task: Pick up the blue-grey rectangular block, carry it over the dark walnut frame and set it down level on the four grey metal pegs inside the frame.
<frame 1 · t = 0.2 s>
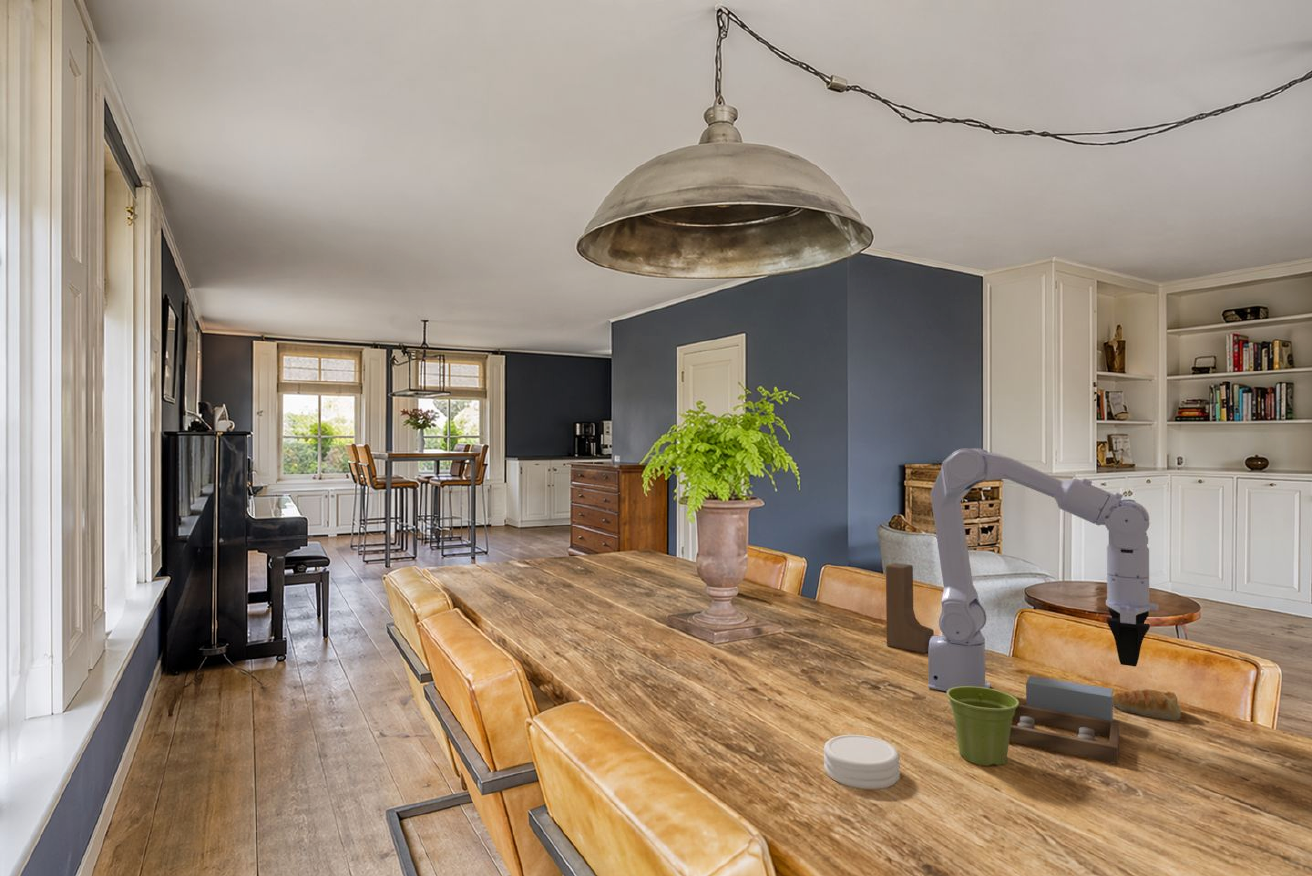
hand: (1128, 659, 114), 10 cm above the table, tool pointing down, fingers open, 7 cm apart
peg frame: (1055, 737, 107), on the table
pastry: (1149, 714, 117), on the table
coaster: (861, 775, 96), on the table
plant pot: (982, 759, 101), on the table
blue-grey rectangular block: (1069, 716, 116), on the table
wooden block: (910, 649, 155), on the table
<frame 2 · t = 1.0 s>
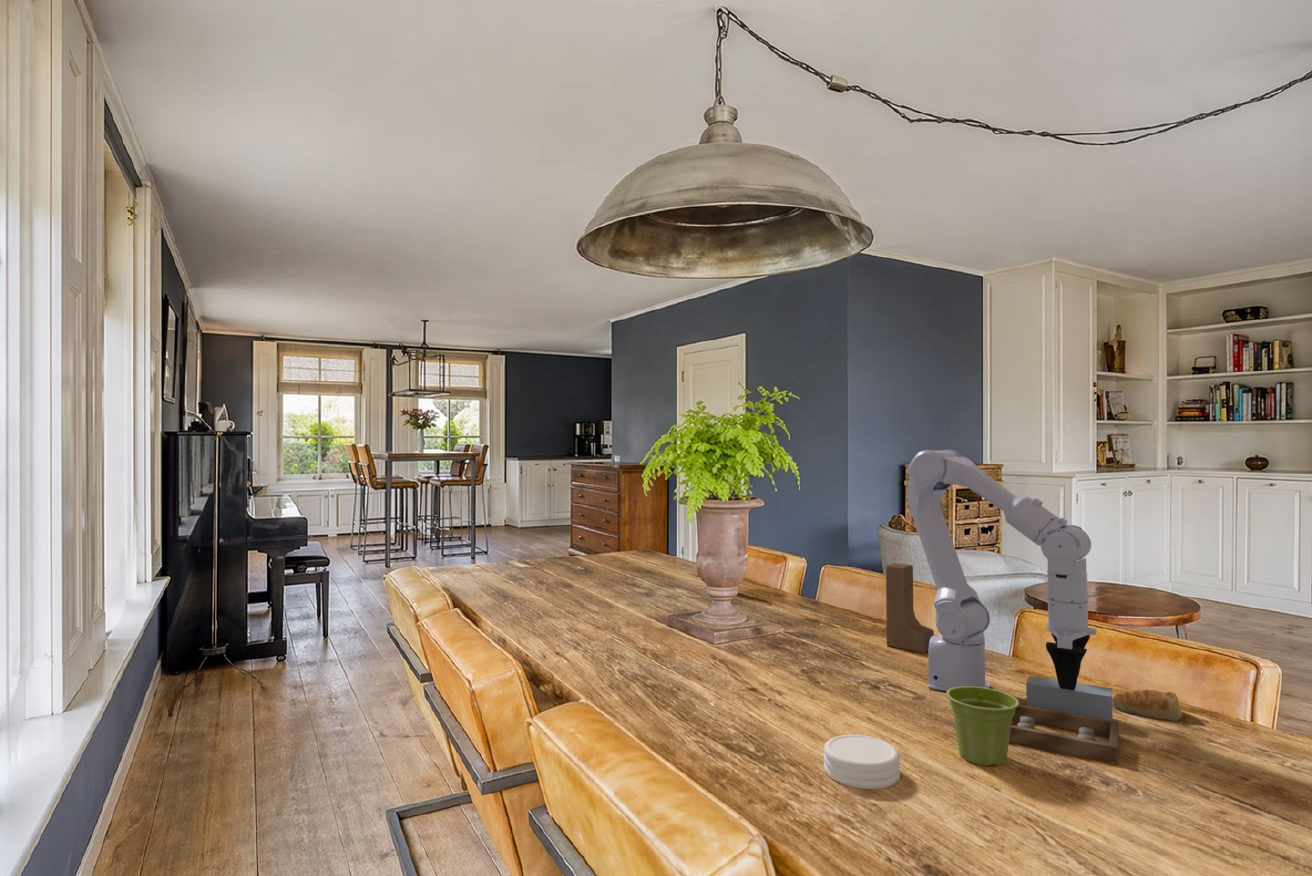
hand: (1069, 682, 116), 5 cm above the table, tool pointing down, fingers open, 7 cm apart
nothing on the table moved.
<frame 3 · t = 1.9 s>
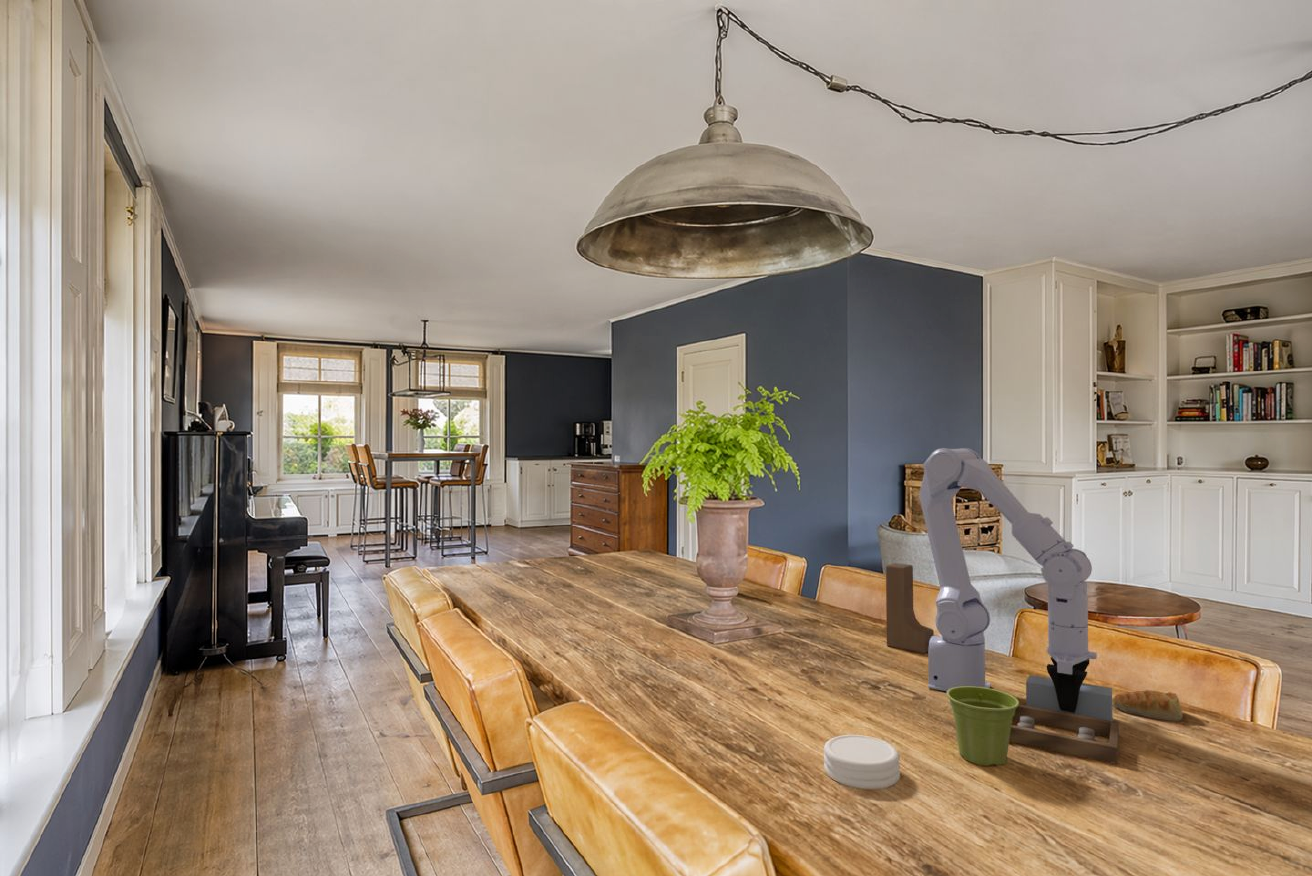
hand: (1068, 706, 116), 1 cm above the table, tool pointing down, fingers closed on blue-grey rectangular block, 4 cm apart
blue-grey rectangular block: (1068, 715, 116), on the table, touching gripper
everything else where it was.
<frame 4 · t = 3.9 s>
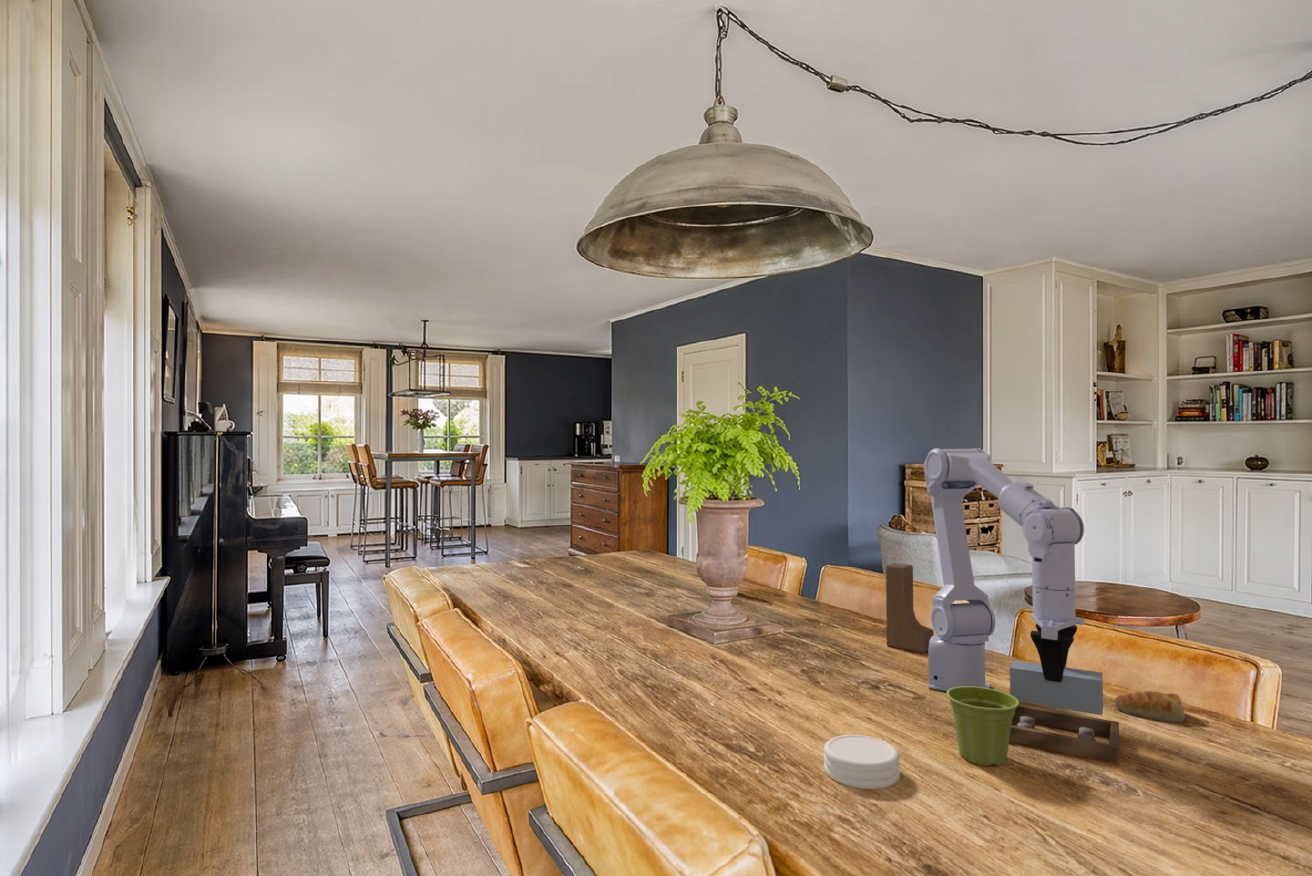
hand: (1054, 676, 107), 9 cm above the table, tool pointing down, fingers closed on blue-grey rectangular block, 4 cm apart
blue-grey rectangular block: (1056, 703, 107), point 5 cm above the table, touching gripper
everything else where it was.
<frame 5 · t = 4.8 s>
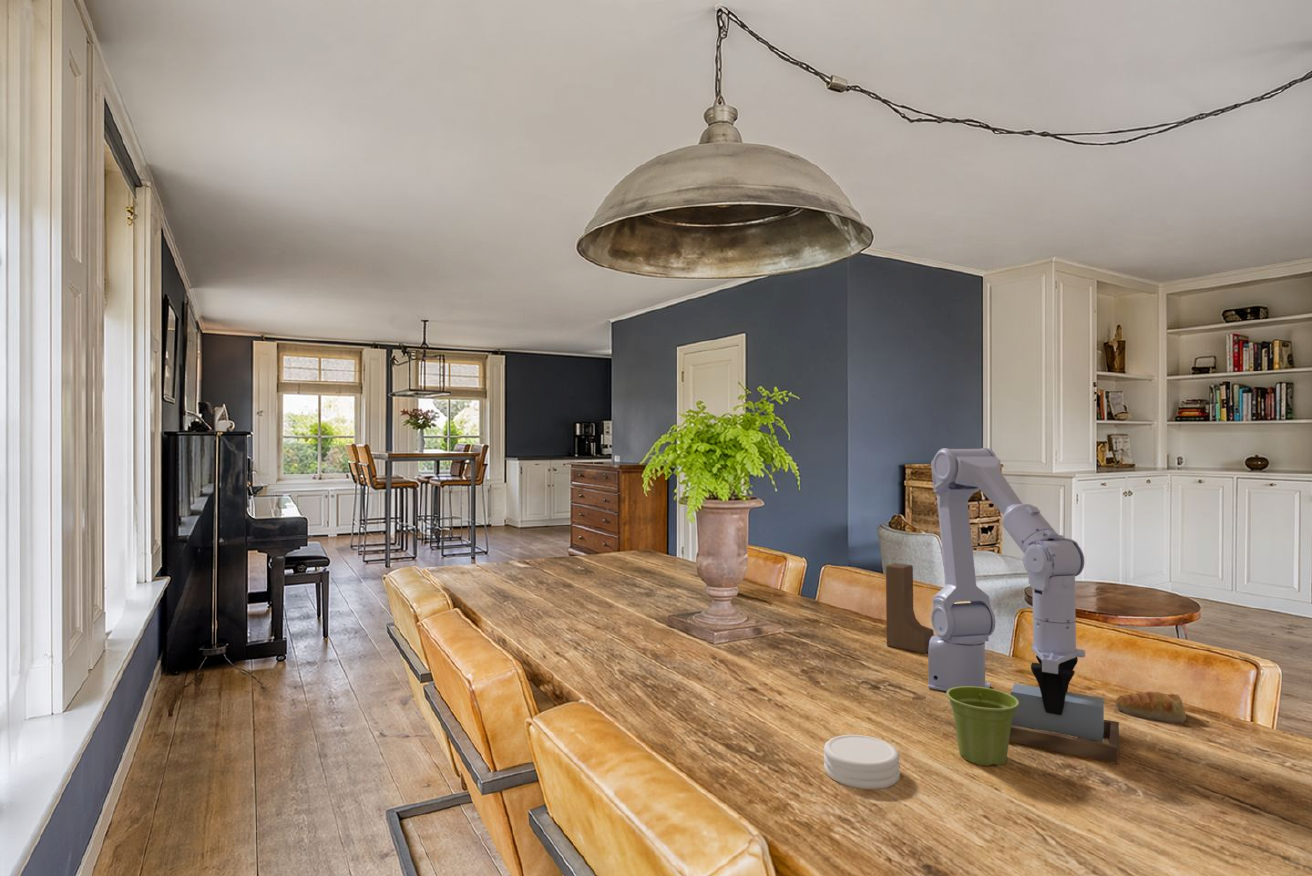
hand: (1055, 708, 107), 4 cm above the table, tool pointing down, fingers closed on blue-grey rectangular block, 4 cm apart
blue-grey rectangular block: (1056, 727, 107), point 1 cm above the table, touching gripper, peg frame
when the fingers open (4 cm above the table, at t = 5.2 s): blue-grey rectangular block stays where it is, resting on peg frame.
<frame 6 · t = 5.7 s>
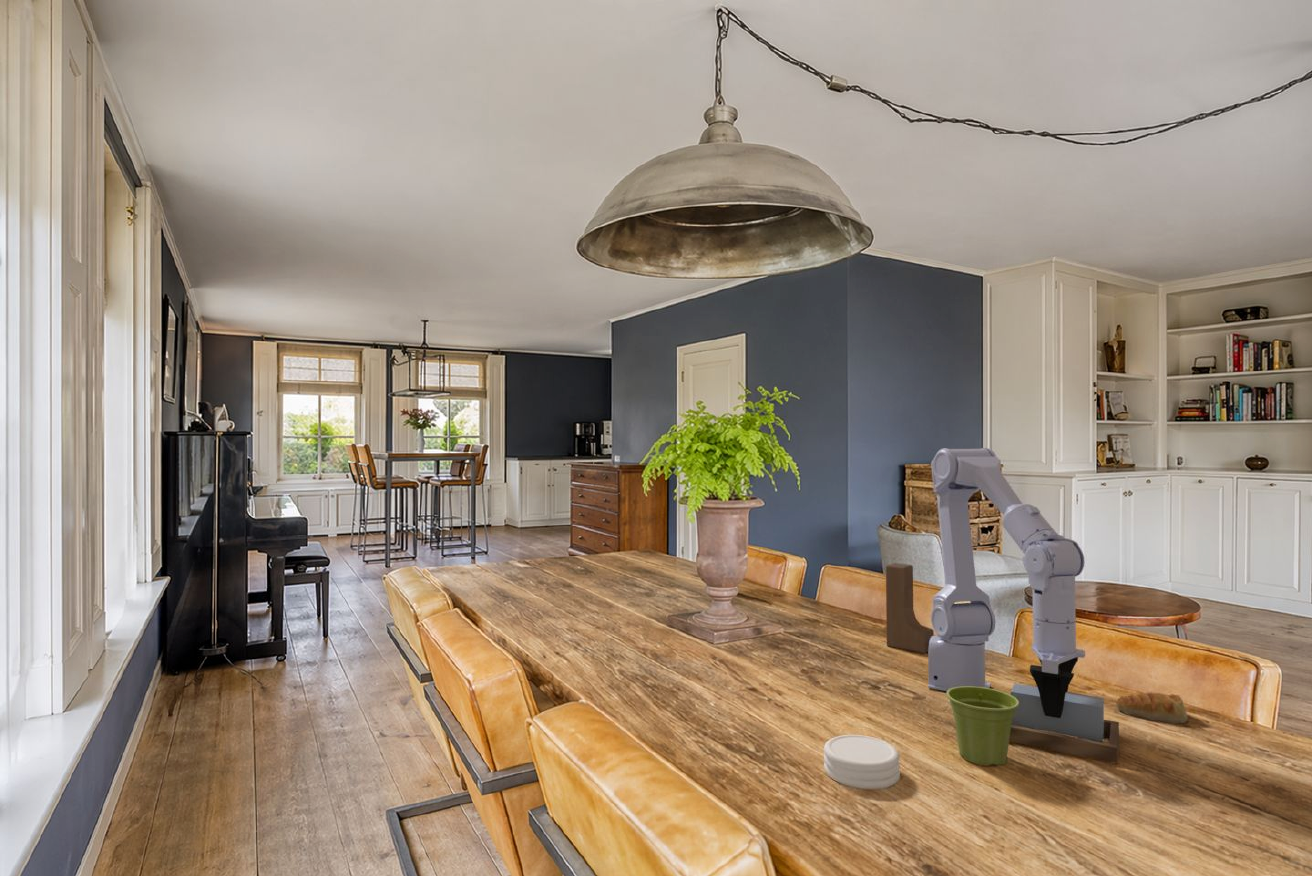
hand: (1055, 708, 107), 4 cm above the table, tool pointing down, fingers open, 7 cm apart
blue-grey rectangular block: (1056, 727, 107), point 1 cm above the table, touching peg frame
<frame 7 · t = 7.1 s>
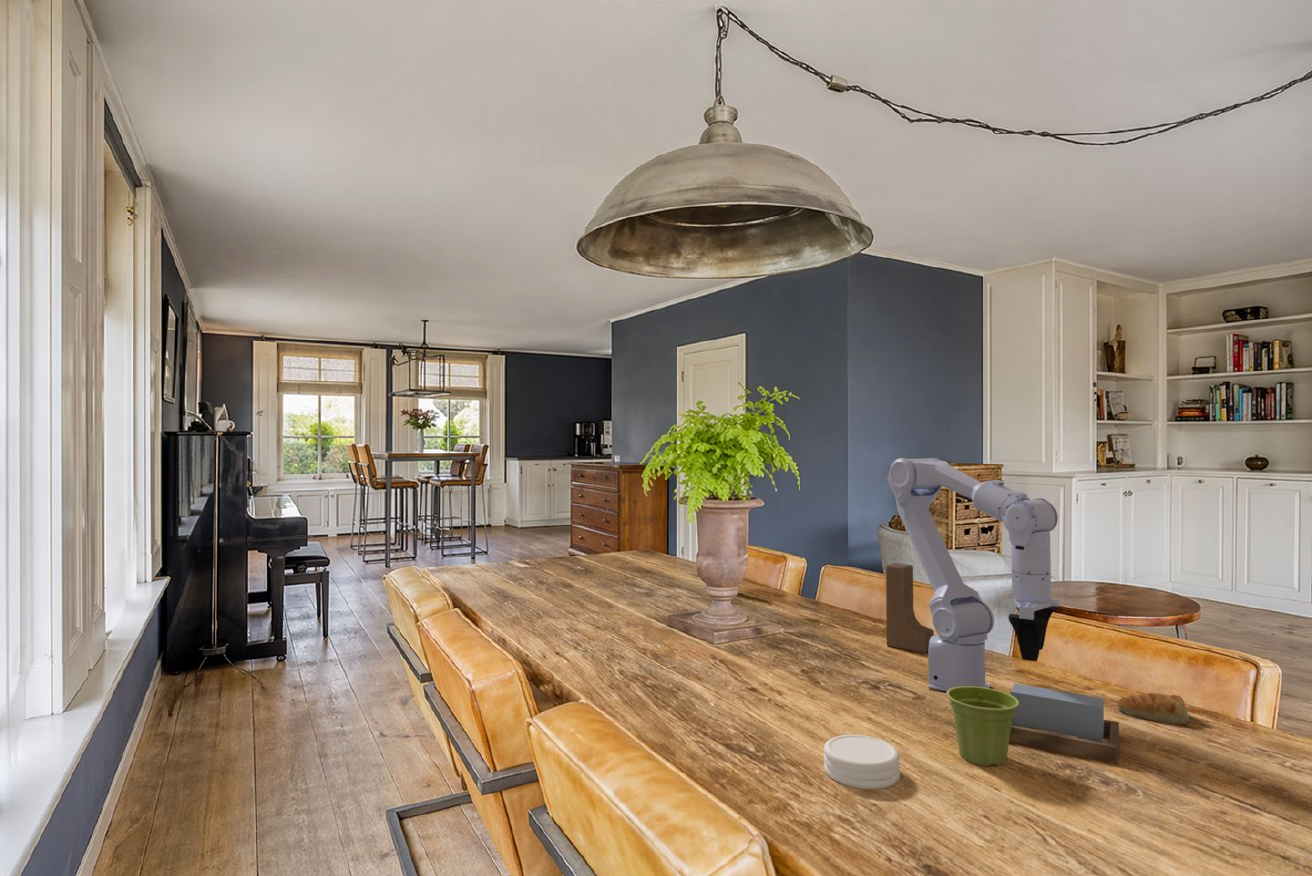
hand: (1032, 654, 117), 10 cm above the table, tool pointing down, fingers open, 7 cm apart
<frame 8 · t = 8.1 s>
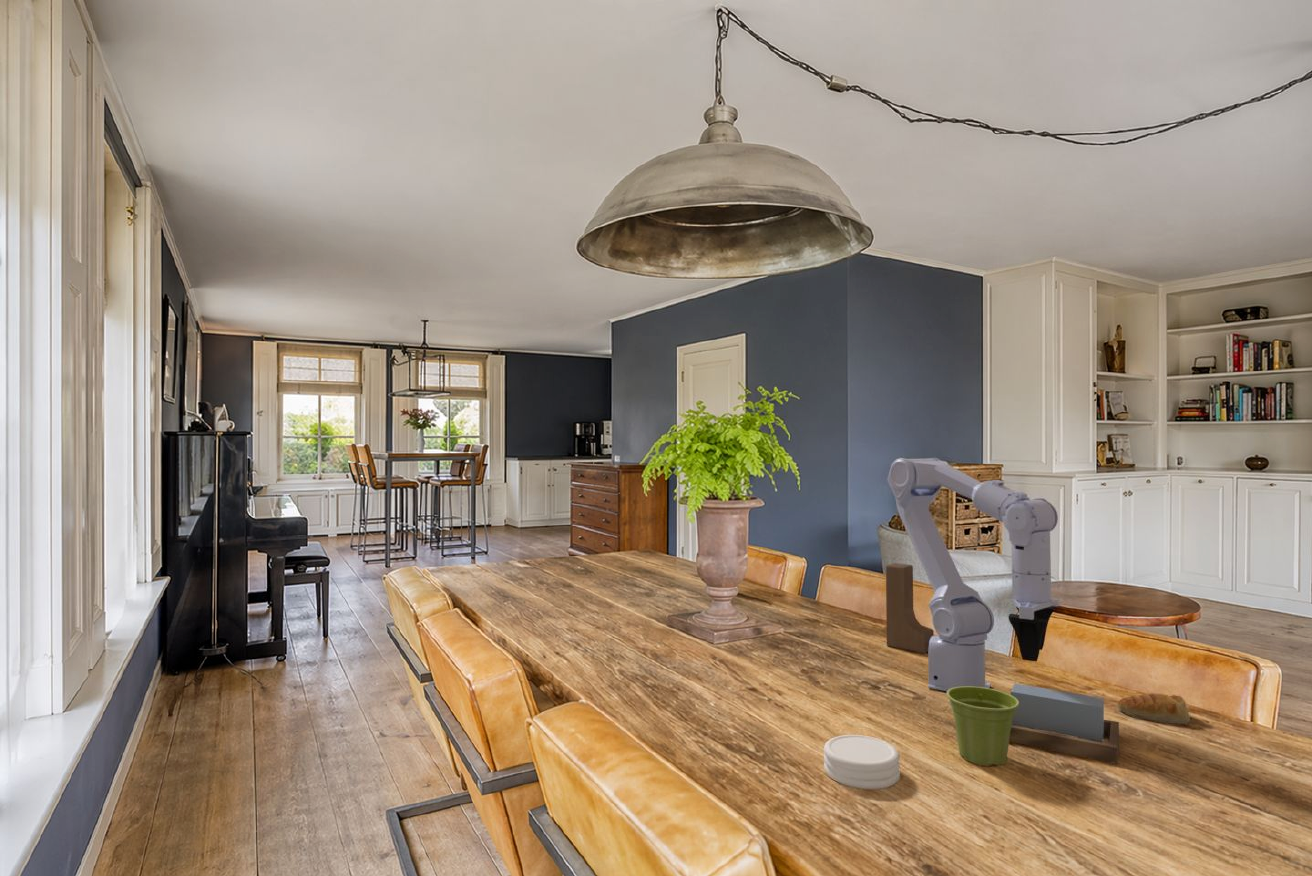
hand: (1032, 654, 117), 10 cm above the table, tool pointing down, fingers open, 7 cm apart
at the end: blue-grey rectangular block 0.2 cm off-centre on the peg frame, point 1.5 cm above the peg frame's base; blue-grey rectangular block tilted 0°; the gripper is holding nothing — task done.
